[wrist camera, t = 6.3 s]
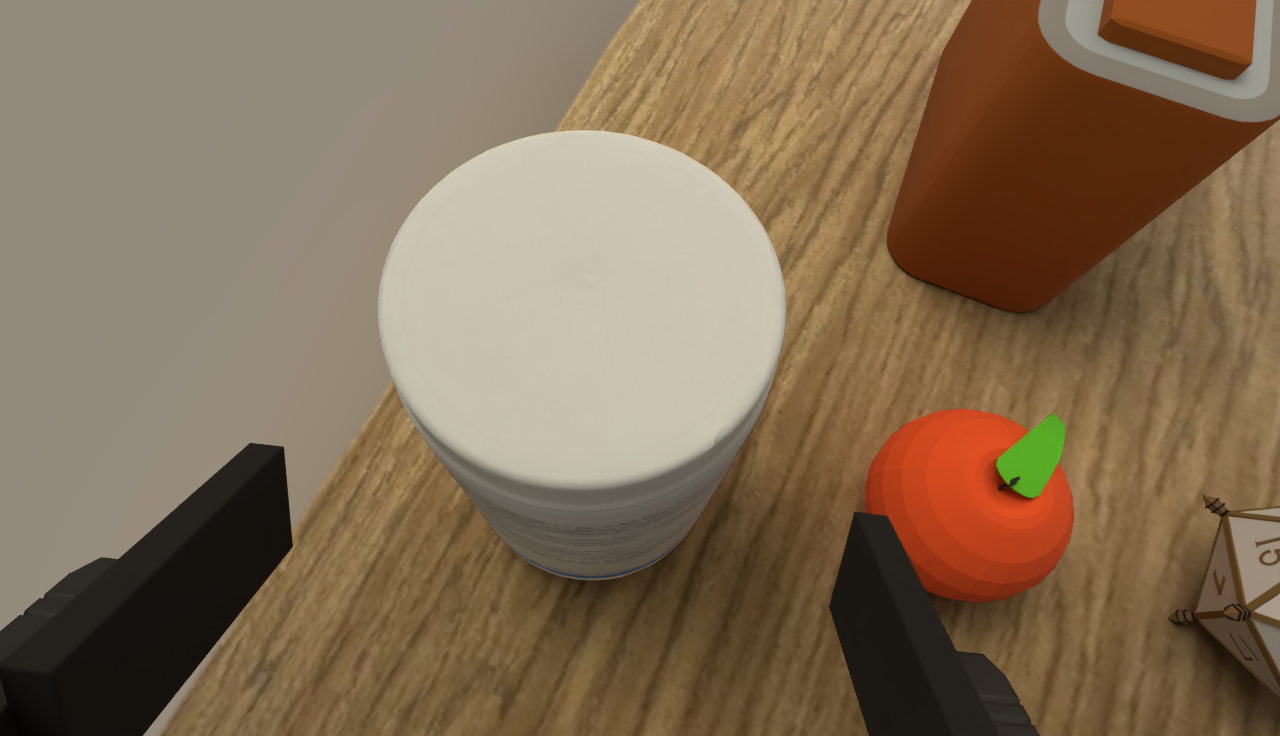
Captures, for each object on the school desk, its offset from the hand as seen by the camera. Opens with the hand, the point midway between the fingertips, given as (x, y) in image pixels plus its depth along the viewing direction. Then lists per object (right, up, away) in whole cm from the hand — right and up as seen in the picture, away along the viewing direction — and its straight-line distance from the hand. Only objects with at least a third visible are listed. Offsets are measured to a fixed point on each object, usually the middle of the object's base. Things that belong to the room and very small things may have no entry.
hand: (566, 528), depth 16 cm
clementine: (+14, -2, +13) cm, 19 cm away
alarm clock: (+20, +13, +20) cm, 31 cm away
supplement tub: (0, 0, +13) cm, 13 cm away
